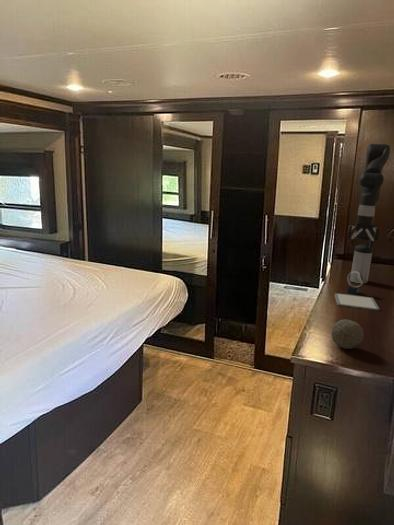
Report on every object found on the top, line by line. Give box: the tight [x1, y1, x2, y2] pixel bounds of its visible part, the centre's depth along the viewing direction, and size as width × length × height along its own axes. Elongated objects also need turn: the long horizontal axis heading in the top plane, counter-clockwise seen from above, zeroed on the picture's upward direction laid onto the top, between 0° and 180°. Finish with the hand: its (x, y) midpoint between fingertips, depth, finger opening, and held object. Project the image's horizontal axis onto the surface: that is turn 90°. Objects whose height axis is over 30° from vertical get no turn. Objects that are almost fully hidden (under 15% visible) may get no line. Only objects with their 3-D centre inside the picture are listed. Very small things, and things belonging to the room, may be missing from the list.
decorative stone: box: [331, 318, 365, 350], centre depth 136 cm, size 10×8×10 cm
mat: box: [334, 292, 381, 312], centre depth 187 cm, size 18×18×1 cm
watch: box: [346, 271, 364, 296], centre depth 201 cm, size 6×8×11 cm
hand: (360, 247), depth 197 cm, fingers open, 8 cm apart
